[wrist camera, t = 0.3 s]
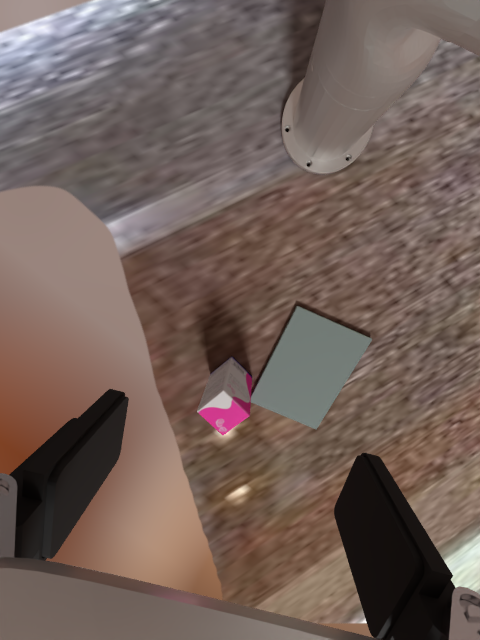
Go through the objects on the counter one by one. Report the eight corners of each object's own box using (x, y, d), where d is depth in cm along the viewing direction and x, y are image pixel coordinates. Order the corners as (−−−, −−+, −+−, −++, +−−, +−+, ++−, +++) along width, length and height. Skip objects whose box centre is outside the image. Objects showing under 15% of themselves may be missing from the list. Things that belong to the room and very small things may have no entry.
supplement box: (209, 374, 49) (195, 411, 38) (232, 355, 48) (224, 387, 37) (230, 395, 50) (222, 437, 39) (253, 377, 49) (252, 415, 38)
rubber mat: (296, 305, 45) (297, 306, 44) (370, 337, 45) (372, 339, 45) (249, 399, 50) (249, 401, 49) (315, 426, 51) (316, 429, 50)
